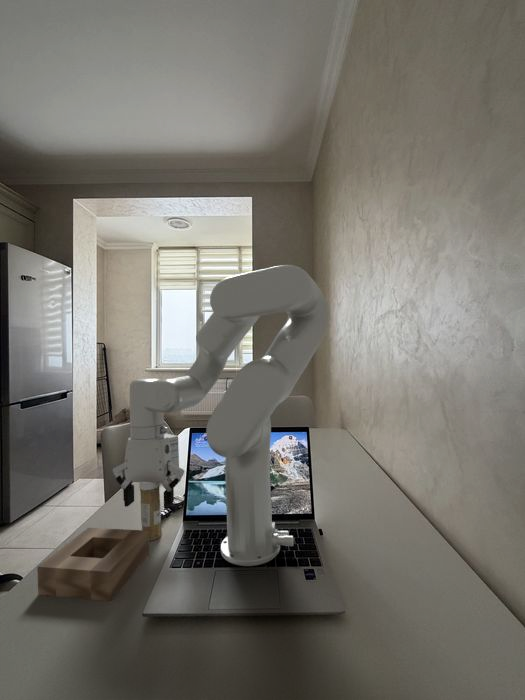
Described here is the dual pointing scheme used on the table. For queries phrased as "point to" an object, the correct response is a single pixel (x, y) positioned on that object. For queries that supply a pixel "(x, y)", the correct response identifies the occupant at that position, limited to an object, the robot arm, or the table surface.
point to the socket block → (94, 564)
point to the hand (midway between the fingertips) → (148, 505)
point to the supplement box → (174, 448)
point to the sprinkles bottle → (150, 509)
